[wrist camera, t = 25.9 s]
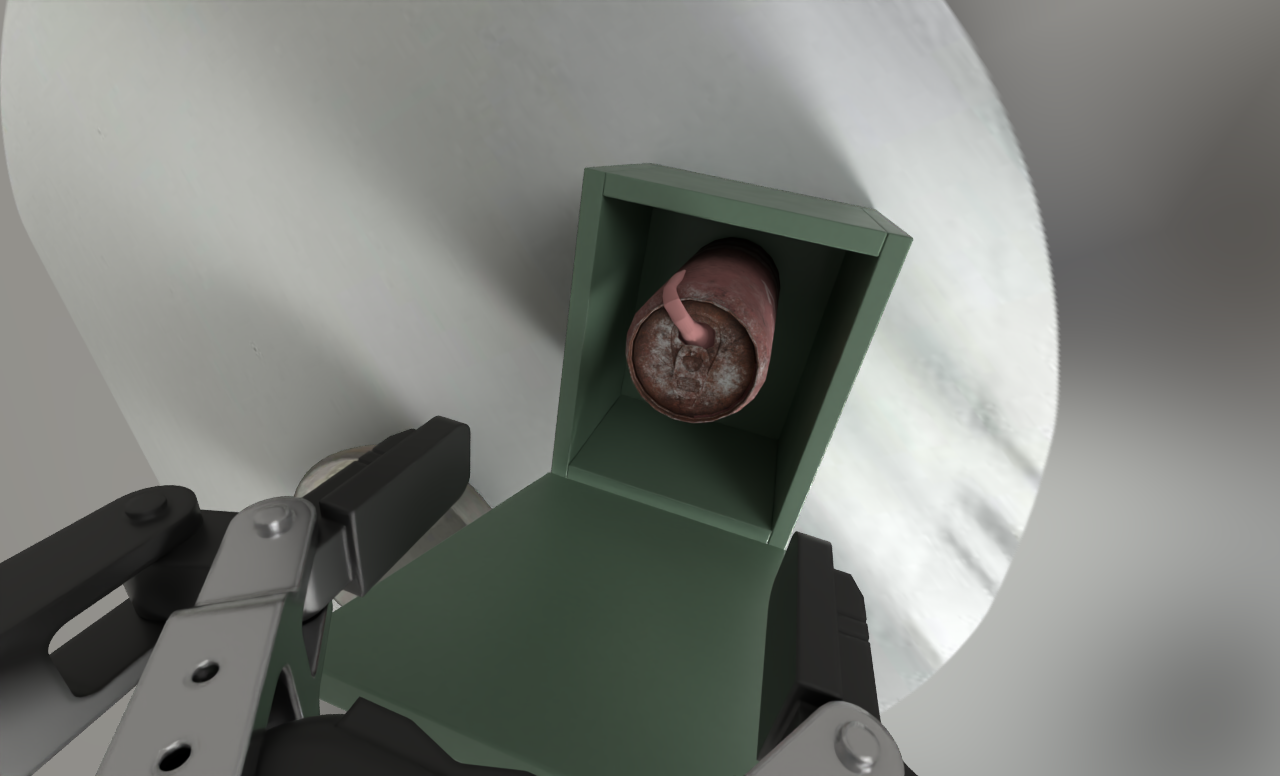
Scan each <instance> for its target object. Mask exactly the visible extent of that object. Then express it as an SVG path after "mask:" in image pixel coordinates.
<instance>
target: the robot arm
mask: <svg viewBox="0 0 1280 776" xmlns="http://www.w3.org/2000/svg"><path fill="white" fill-rule="evenodd" d="M469 478H470V428H469V426H468V425H467V424H464V423H461V422H458V421H455V420H452V419H449V418H446V417H442V416H436V417H434V418H432V419H431V420H429V421H428V422H427V423H425V424H424V425H422V426H421V427H420V428H418V429H417V430H415V429H409V430H406V431H403V432H400V433H398V434H395V435H392V436H389V437H388V438H387V439H385V440H384V441H382V442H381V443H379V444H378V445H377V446H375V447H374V448H373V449H372V451H368V452H366V453H365V454H364V455H362V456H361V457H359V458H358V461H354V462H352V463H351V464H349V465H348V466H346V467H345V468H343V469H342V470H341V471H339V472H338V473H336V474H335V475H333V476H332V477H331V478H329V479H328V480H326V481H325V482H323V483H322V484H320V485H319V486H318V487H316V488H315V489H313V490H312V491H310V492H309V493H308V494H306V495H305V496H303V497H302V498H300V497H295V496H281V497H274V498H270V499H266V500H263V501H260V502H257V503H255V504H252V505H251V506H249V507H247V508H245V509H244V510H242V511H241V512H226V511H212V510H200V508H199V504H198V501H197V498H196V495H195V494H194V492H193V491H192V490H190V489H188V488H186V487H182V486H174V485H164V486H155V487H150V488H145V489H142V490H139V491H135V492H132V493H130V494H127V495H125V496H123V497H121V498H119V499H116V500H115V501H113V502H111V503H109V504H107V505H106V506H104V507H102V508H100V509H98V510H96V511H95V512H93V513H91V514H89V515H87V516H86V517H84V518H82V519H80V520H78V521H76V522H75V523H73V524H71V525H69V526H67V527H65V528H64V529H62V530H60V531H58V532H56V533H55V534H53V535H51V536H49V537H47V538H46V539H44V540H42V541H40V542H38V543H36V544H35V545H33V546H31V547H29V548H27V549H26V550H24V551H22V552H20V553H18V554H16V555H15V556H13V557H11V558H9V559H7V560H5V561H4V562H2V563H0V776H31V775H33V774H34V773H35V772H36V771H37V770H38V769H39V768H41V767H42V766H43V765H44V764H45V763H46V762H48V761H49V760H50V759H51V758H52V757H53V756H55V755H56V754H57V753H58V752H59V751H60V750H62V749H63V748H64V747H65V746H66V745H67V744H69V743H70V742H71V741H72V740H73V739H74V738H76V737H77V736H78V735H79V734H80V733H81V732H83V731H84V730H85V729H86V728H87V727H88V726H89V725H91V724H92V723H93V722H94V721H95V720H97V719H98V718H99V717H100V716H101V715H102V714H103V713H105V712H106V711H107V710H108V709H109V708H110V707H111V706H113V705H114V704H115V703H116V702H117V701H119V700H120V699H121V698H122V697H123V696H124V695H126V694H127V693H128V692H129V691H130V690H131V689H133V687H135V686H136V685H137V686H136V688H135V691H134V693H133V695H132V697H131V699H130V701H129V703H128V706H127V708H126V710H125V712H124V714H123V716H122V719H121V721H120V723H119V725H118V727H117V729H116V732H115V734H114V736H113V738H112V741H111V743H110V745H109V747H108V749H107V751H106V753H105V755H104V758H103V760H102V762H101V764H100V766H99V768H98V771H97V773H96V775H95V776H537V775H535V774H532V773H530V772H528V771H524V770H516V769H507V768H498V767H490V766H481V765H472V764H464V763H460V762H457V761H455V760H454V759H453V758H452V757H451V756H449V755H448V754H447V753H446V752H445V751H444V750H443V749H442V748H441V747H440V746H439V745H438V744H437V743H436V742H435V741H434V740H433V739H432V738H430V737H429V736H428V735H427V734H426V733H425V732H424V731H423V730H422V729H421V728H420V727H419V726H418V725H417V724H416V723H415V722H414V721H413V720H411V719H409V718H407V717H405V716H403V715H400V714H398V713H396V712H394V711H391V710H389V709H387V708H385V707H382V706H380V705H378V704H376V703H373V702H371V701H369V700H367V699H365V698H362V697H360V696H359V698H358V699H357V700H356V701H355V703H354V704H353V705H352V706H351V708H350V709H349V710H348V711H347V713H346V714H326V715H320V709H319V708H320V707H319V696H320V685H321V679H322V672H323V666H324V660H325V654H326V648H327V641H328V635H329V629H330V623H331V616H332V610H333V604H332V599H334V598H335V597H336V596H337V595H338V594H339V593H340V592H341V591H342V590H345V591H347V592H350V593H352V594H355V595H357V596H359V597H363V596H364V595H365V594H366V593H367V592H368V591H369V590H370V589H371V588H372V587H373V586H374V585H375V584H376V583H377V582H378V581H379V580H380V579H381V578H382V577H383V576H384V575H385V574H386V573H387V572H388V571H389V570H390V569H391V568H392V567H393V566H394V565H395V564H396V563H397V562H398V561H399V560H400V559H401V558H402V557H403V556H404V555H405V554H406V553H407V552H408V551H409V549H410V548H411V547H412V546H413V545H414V544H415V543H416V542H417V541H418V540H419V539H420V538H421V537H422V536H423V535H424V534H425V533H426V532H427V531H428V530H429V529H430V528H431V527H432V526H433V525H434V524H435V523H436V522H437V521H438V520H439V519H440V518H441V517H442V516H443V515H444V514H445V513H446V512H447V511H448V510H449V509H450V508H451V507H452V506H453V505H454V504H455V503H456V502H457V501H458V500H459V498H460V497H461V496H462V495H463V493H464V491H465V489H466V487H467V485H468V482H469ZM122 584H123V585H124V587H125V589H126V592H127V594H128V596H129V598H128V599H127V600H125V601H124V602H123V603H121V604H120V605H119V606H117V607H116V608H114V609H113V610H112V611H110V612H109V613H107V614H106V615H104V616H103V617H102V618H100V619H99V620H98V621H96V622H95V623H93V624H92V625H90V626H89V627H88V628H86V629H85V630H83V631H82V632H81V633H79V634H78V635H77V636H75V637H74V638H72V639H71V640H69V641H68V642H67V643H65V644H64V645H62V646H61V647H60V648H58V649H57V650H55V651H54V652H53V653H51V654H50V655H49V654H48V647H49V644H50V641H51V640H52V638H53V636H54V635H55V633H56V632H57V631H58V630H59V629H60V628H61V627H62V626H63V625H64V624H66V623H67V622H68V621H70V620H71V619H73V618H74V617H75V616H77V615H78V614H80V613H81V612H83V611H84V610H86V609H87V608H88V607H90V606H92V605H93V604H94V603H96V602H97V601H99V600H100V599H102V598H103V597H105V596H106V595H108V594H109V593H110V592H112V591H113V590H115V589H116V588H118V587H119V586H121V585H122ZM866 620H867V618H866V611H865V604H864V597H863V595H862V593H861V591H860V590H859V588H858V586H857V584H856V583H855V581H854V579H853V577H852V576H851V574H848V573H845V572H842V571H839V570H836V569H834V567H833V554H832V545H831V543H830V542H828V541H825V540H822V539H819V538H816V537H813V536H810V535H807V534H803V533H800V532H797V531H796V532H795V533H794V534H793V536H792V538H791V541H790V543H789V546H788V548H787V551H786V553H785V555H784V558H783V560H782V563H781V565H780V567H779V570H778V572H777V575H776V577H775V580H774V583H773V586H772V589H771V593H770V598H769V604H768V614H767V627H766V640H765V653H764V666H763V679H762V692H761V705H760V718H759V731H758V745H757V758H756V760H758V761H760V762H758V763H757V764H756V765H755V766H754V767H753V768H752V769H751V770H750V771H748V772H747V773H746V774H745V775H744V776H917V775H916V774H915V773H914V772H913V771H912V770H911V769H910V768H909V767H908V766H907V765H906V764H905V763H904V761H903V760H902V756H901V753H900V751H899V748H898V746H897V744H896V743H895V741H894V739H893V737H892V736H891V735H890V733H889V732H888V731H887V729H886V728H885V727H884V726H883V725H882V724H881V720H880V715H879V707H878V700H877V693H876V685H875V678H874V670H873V663H872V656H871V648H870V643H869V642H868V640H869V633H868V626H867V624H866Z"/></svg>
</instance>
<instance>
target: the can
mask: <svg viewBox="0 0 1280 776" xmlns="http://www.w3.org/2000/svg"><path fill="white" fill-rule="evenodd" d="M779 294H780V279H779V271H778V269H777V267H776V265H775V263H774V261H773V259H772V257H771V256H770V255H769V254H768V253H767V252H766V251H765V250H764V249H763V248H762V247H761V246H759V245H757V244H755V243H753V242H751V241H749V240H747V239H741V238H733V237H729V238H723V239H718V240H714V241H713V242H711V243H709V244H707V245H705V246H704V247H702V248H701V249H700V250H699V251H698V252H697V253H695V254H694V255H693V256H692V257H691V258H690V259H689V260H688V261H687V262H686V263H685V264H684V265H683V266H682V267H681V268H680V269H679V270H678V271H677V272H676V273H675V274H674V275H673V276H672V277H671V278H670V279H669V280H668V281H667V282H666V283H665V284H664V285H663V286H662V287H661V288H660V289H659V290H658V291H657V292H656V293H655V294H654V295H653V296H652V297H651V298H650V299H649V300H648V301H647V302H646V303H645V304H644V305H643V306H642V307H641V308H640V309H639V310H638V312H637V313H636V314H635V316H634V318H633V321H632V323H631V325H630V327H629V330H628V332H627V340H626V353H625V354H626V358H627V363H628V367H629V372H630V376H631V380H632V382H633V383H634V385H635V387H636V388H637V390H638V392H639V393H640V395H641V397H642V398H644V399H645V400H646V401H647V402H648V403H649V404H650V405H651V406H652V407H653V408H654V409H655V410H657V411H659V412H661V413H662V414H664V415H666V416H668V417H670V418H672V419H675V420H680V421H684V422H689V423H704V422H713V421H716V420H719V419H721V418H724V417H726V416H729V415H731V414H733V413H736V412H738V411H739V410H741V409H742V408H743V407H744V406H746V405H747V404H748V403H749V402H750V401H752V400H753V399H754V398H755V396H756V395H757V393H758V392H759V390H760V388H761V387H762V385H763V384H764V382H765V380H766V376H767V371H768V366H769V362H770V356H771V349H772V342H773V335H774V328H775V322H776V315H777V308H778V301H779Z"/></svg>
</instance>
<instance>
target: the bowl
mask: <svg viewBox="0 0 1280 776" xmlns="http://www.w3.org/2000/svg"><path fill="white" fill-rule="evenodd" d="M375 446H377V445H365V446H359V447H354V448H350V449H347V450H343V451H340V452H337V453H335V454H332V455H330V456H328V457H326V458H325V459H323V460H321V461H319V462H318V463H317V464H315V465H314V466H313V467H312V468H311V469H310V470H309V471H308V472H306V474H305V475H304V477H303V478H302V480H301V481H300V483H299V485H298V487H297V489H296V491H295V494H294V496H295V497H300V498H302V497H303V496H305V495H306V494H308V493H309V492H310V491H312V490H313V489H315V488H316V487H318V486H319V485H320V484H322V483H323V482H325V481H326V480H328V479H329V478H331V477H332V476H333V475H335V474H336V473H338V472H339V471H341V470H342V469H343V468H345V467H346V466H348V465H349V464H351V463H352V462H354V461H358V458H359V457H361V456H362V455H364V454H365V453H366V452H368V451H372V449H373V448H374V447H375ZM490 510H492V509H491V508H490V506H489V505H488V504H487V503H486V501H485V500H484V499H483V498H482V497H481V495H480V494H479V493H478V492H477V491H476V490H475V489H474V488H473V487H472V486H471V485H470V484H469V483H468V485H467V487H466V489H465V491H464V493H463V495H462V496H461V497H460V498H459V500H458V501H457V502H456V503H455V504H454V505H453V506H452V507H451V508H450V509H449V510H448V511H447V512H446V513H445V514H444V515H443V516H442V517H441V518H440V519H439V520H438V521H437V522H436V523H435V524H434V525H433V526H432V527H431V528H430V529H429V530H428V531H427V532H426V533H425V534H424V535H423V536H422V537H421V538H420V539H419V540H418V541H417V542H416V543H415V544H414V545H413V546H412V547H411V548H410V549H409V551H408V552H407V553H406V554H405V555H404V556H403V557H402V558H401V559H400V560H399V561H398V562H397V563H396V564H395V565H394V566H393V567H392V568H391V569H390V570H389V571H388V572H387V573H386V574H385V575H384V576H383V577H382V578H381V579H380V580H379V581H378V582H377V583H379V582H380V581H382V580H383V579H385V578H387V577H388V576H390V575H391V574H393V573H394V572H396V571H397V570H399V569H400V568H402V567H404V566H405V565H407V564H408V563H410V562H411V561H413V560H414V559H416V558H417V557H419V556H421V555H422V554H424V553H425V552H427V551H428V550H430V549H431V548H433V547H434V546H436V545H438V544H439V543H441V542H442V541H444V540H445V539H447V538H448V537H450V536H451V535H453V534H455V533H456V532H458V531H459V530H461V529H462V528H464V527H465V526H467V525H468V524H470V523H472V522H473V521H475V520H476V519H478V518H479V517H481V516H482V515H484V514H485V513H487V512H489V511H490ZM377 583H376V584H377ZM376 584H375V585H376ZM356 597H357V595H355V594H352V593H350V592H347V591H345V590H342V591H341V592H340V593H339V594H338V595H337V596H336V597H335V598H334V600H335V601H336V602H337V603H338V604H339V605H341V606H343V605H345V604H346V603H348V602H349V601H351V600H353V599H354V598H356Z"/></svg>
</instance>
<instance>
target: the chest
mask: <svg viewBox="0 0 1280 776" xmlns="http://www.w3.org/2000/svg"><path fill="white" fill-rule="evenodd" d="M729 237H733V238H741V239H747V240H749V241H751V242H753V243H755V244H757V245H759V246H761V247H762V248H763V249H764V250H765V251H766V252H767V253H768V254H769V255H770V256H771V257H772V259H773V261H774V263H775V265H776V267H777V269H778V271H779V279H780V294H779V301H778V308H777V315H776V322H775V328H774V335H773V342H772V349H771V356H770V362H769V366H768V371H767V376H766V380H765V382H764V384H763V385H762V387H761V388H760V390H759V392H758V393H757V395H756V396H755V398H754V399H753V400H752V401H750V402H749V403H748V404H747V405H746V406H744V407H743V408H742V409H741V410H739V411H738V412H736V413H733V414H731V415H729V416H726V417H724V418H721V419H719V420H716V421H713V422H704V423H689V422H684V421H680V420H675V419H672V418H670V417H668V416H666V415H664V414H662V413H661V412H659V411H657V410H655V409H654V408H653V407H652V406H651V405H650V404H649V403H648V402H647V401H646V400H645V399H644V398H642V397H641V395H640V393H639V392H638V390H637V388H636V387H635V385H634V383H633V382H632V380H631V376H630V372H629V367H628V363H627V358H626V354H625V353H626V340H627V332H628V330H629V327H630V325H631V323H632V321H633V318H634V316H635V314H636V313H637V312H638V310H639V309H640V308H641V307H642V306H643V305H644V304H645V303H646V302H647V301H648V300H649V299H650V298H651V297H652V296H653V295H654V294H655V293H656V292H657V291H658V290H659V289H660V288H661V287H662V286H663V285H664V284H665V283H666V282H667V281H668V280H669V279H670V278H671V277H672V276H673V275H674V274H675V273H676V272H677V271H678V270H679V269H680V268H681V267H682V266H683V265H684V264H685V263H686V262H687V261H688V260H689V259H690V258H691V257H692V256H693V255H694V254H695V253H697V252H698V251H699V250H700V249H701V248H702V247H704V246H705V245H707V244H709V243H711V242H713V241H714V240H718V239H723V238H729ZM912 241H913V238H912V237H911V236H910V235H908V234H907V233H906V232H904V231H903V230H902V229H900V228H899V227H898V226H896V225H895V224H894V223H893V222H891V221H890V220H889V219H887V218H886V217H885V216H883V215H882V214H881V213H879V212H878V211H877V210H875V209H870V208H865V207H860V206H855V205H850V204H846V203H841V202H836V201H831V200H826V199H821V198H816V197H812V196H807V195H802V194H797V193H792V192H787V191H783V190H778V189H773V188H768V187H763V186H758V185H754V184H749V183H744V182H739V181H734V180H729V179H725V178H720V177H715V176H710V175H705V174H700V173H696V172H691V171H686V170H681V169H676V168H671V167H666V166H662V165H657V164H652V163H642V164H629V165H615V166H602V167H588V168H585V169H584V177H583V186H582V195H581V204H580V214H579V223H578V232H577V241H576V250H575V259H574V268H573V278H572V287H571V296H570V305H569V314H568V323H567V332H566V342H565V351H564V360H563V369H562V378H561V387H560V397H559V406H558V415H557V424H556V433H555V442H554V451H553V461H552V470H551V473H553V474H556V475H559V476H562V477H565V478H568V479H571V480H574V481H577V482H580V483H583V484H586V485H589V486H592V487H596V488H599V489H602V490H605V491H608V492H611V493H614V494H617V495H620V496H623V497H626V498H629V499H632V500H635V501H638V502H641V503H644V504H647V505H650V506H653V507H656V508H659V509H662V510H665V511H668V512H671V513H675V514H678V515H681V516H684V517H687V518H690V519H693V520H696V521H699V522H702V523H705V524H708V525H711V526H714V527H717V528H720V529H723V530H726V531H729V532H732V533H735V534H738V535H741V536H744V537H747V538H750V539H754V540H757V541H760V542H763V543H766V544H767V543H768V544H769V545H772V546H775V547H778V548H781V549H784V550H785V549H786V546H787V544H788V541H789V539H790V536H791V534H792V532H793V529H794V527H795V524H796V522H797V519H798V517H799V515H800V512H801V510H802V507H803V505H804V503H805V500H806V498H807V495H808V493H809V490H810V488H811V486H812V483H813V481H814V478H815V476H816V474H817V471H818V469H819V466H820V464H821V461H822V459H823V457H824V454H825V452H826V449H827V447H828V444H829V442H830V440H831V437H832V435H833V432H834V430H835V428H836V425H837V423H838V420H839V418H840V415H841V413H842V411H843V408H844V406H845V403H846V401H847V399H848V396H849V394H850V391H851V389H852V386H853V384H854V382H855V379H856V377H857V374H858V372H859V369H860V367H861V365H862V362H863V360H864V357H865V355H866V353H867V350H868V348H869V345H870V343H871V340H872V338H873V336H874V333H875V331H876V328H877V326H878V324H879V321H880V319H881V316H882V314H883V311H884V309H885V307H886V304H887V302H888V299H889V297H890V294H891V292H892V290H893V287H894V285H895V282H896V280H897V278H898V275H899V273H900V270H901V268H902V265H903V263H904V261H905V258H906V256H907V253H908V251H909V249H910V246H911V244H912Z"/></svg>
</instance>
